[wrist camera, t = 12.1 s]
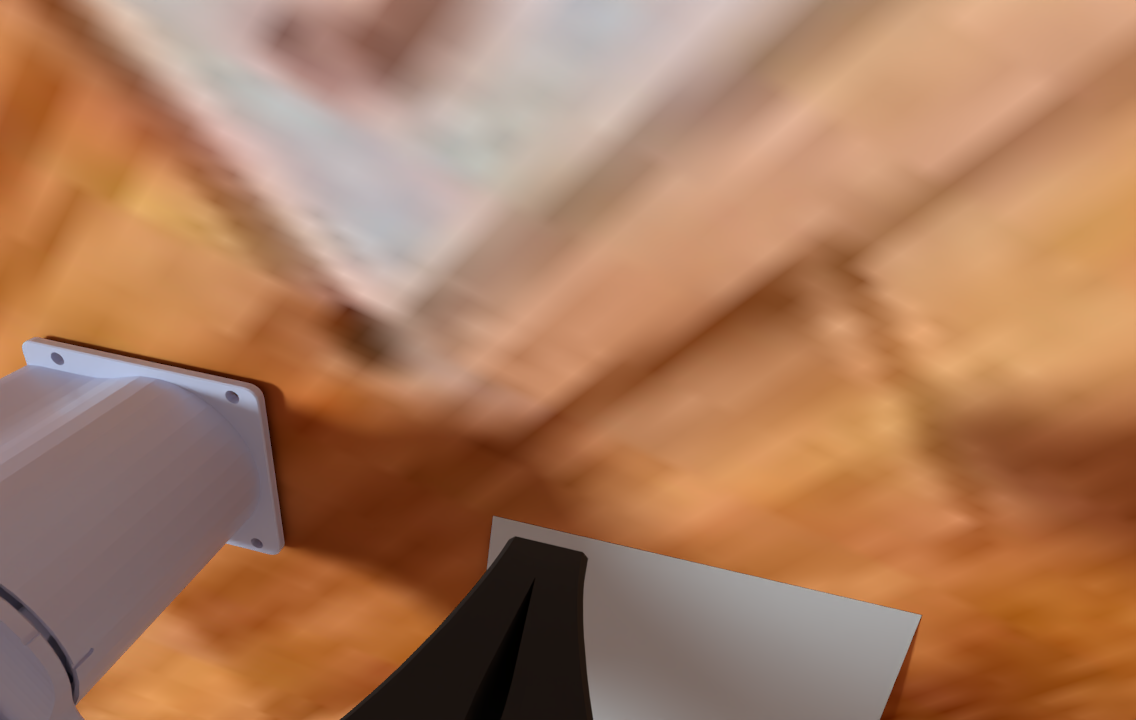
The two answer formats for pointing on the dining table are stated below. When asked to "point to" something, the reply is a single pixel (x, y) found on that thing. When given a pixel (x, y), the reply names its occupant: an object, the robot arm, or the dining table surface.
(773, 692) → the dock
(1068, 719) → the dining table surface
